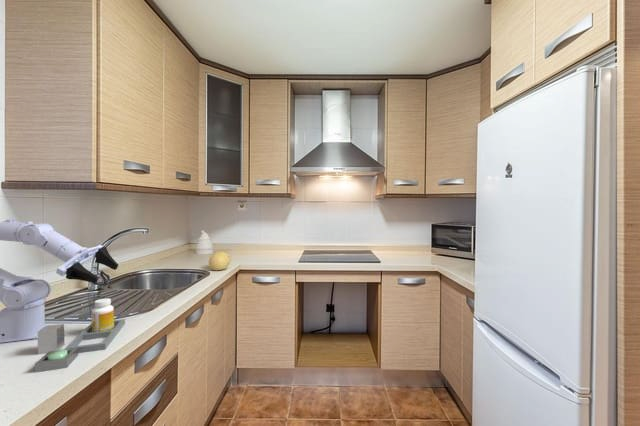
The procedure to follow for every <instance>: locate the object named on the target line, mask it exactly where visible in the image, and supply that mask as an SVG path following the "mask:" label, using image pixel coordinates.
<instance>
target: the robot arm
mask: <svg viewBox="0 0 640 426" xmlns="http://www.w3.org/2000/svg"><path fill="white" fill-rule="evenodd" d="M0 241H5V242H16V243H17V242H19V243H22V244H24V245H26V246H36V247H38V248H40V249H42V250H44V251H46V252H47V253H49V254H51V255H52V256H54V257H55V258H57V259H59V260H61V261H63V262H64V263H63V264H61V266H59V267H57V269H56V271H55V272H56V274H57V275H59V276H60V277H64V276H65V279H66V280H67V279H68V280H77V281H83V282H88V283H92V284H97V283H98V281H99V278H100V277H99V276H97V275H96V274H95V273H93V272H91V271H89V270H88V269H87V268H86V267H84V266H83V264H84V263H86V262H88V261H89V260H91V259H92V258H95V261H94V263H96V264H101V265H103V266H106V267H108V268H110V269H111V270H115V271H116V270H117V269H118V267H119V263H117V261H116V260H115V259H114V258H113V257H112V256H111V254H110V253H109V250H108V248H107V247H106V246H103V245H102V244H99V245H97V246H94V247H89V248H88V247H87V246H85V247H83V246H81V245H80V244H78V243H76V242H75V241H73V240H72V239H69V238H68V237H66V236H65V235H63V234H61V233H59V232H57V231H56V228H55V227H54V226H53V225H52V224H50V223H47V222H41V223H34V222H33V221H25V222H21V221H16V219H12V218H11V219H10V218H9V219H6V220H2V221H0ZM51 287H52V286H51V285H50V283H49V281H47V280H45V279H38V278H33V277H31V276H20V275H16V274H13V273H11V272H10V271H8V270H5V269H3V268H1V267H0V302H1V303H2V305H3V306H4V308H2V309H1V310H0V344H1V343H2V344H3V343H9V342H17V341H19V342H20V341H27V340H36V339H38V331H39V330H41V329H42V328H44V327H45V326H46V319H45V317H46V316H45V314H46V313H45V302H47V297H49V296H50V293H51V292H52V290H51V289H52V288H51Z"/></svg>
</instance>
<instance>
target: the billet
mask: <svg viewBox="0 0 640 426" xmlns="http://www.w3.org/2000/svg"><path fill="white" fill-rule="evenodd" d="M65 345H66V344H65V323H61V324H52V325H51V324H50V325H45V327H44V328H42V329H41V330H39V331H38V338H37V355H46V354H47V353H48V352H49V351H57V350H62V348H63V347H65Z"/></svg>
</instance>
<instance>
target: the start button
mask: <svg viewBox="0 0 640 426" xmlns="http://www.w3.org/2000/svg"><path fill="white" fill-rule="evenodd" d="M66 356H67V350H65V348H64V349H60V350H57V351H54V352H51V353H50V354H48V360H54V359H61V358H65V357H66Z"/></svg>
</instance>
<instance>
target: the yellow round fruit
mask: <svg viewBox="0 0 640 426" xmlns="http://www.w3.org/2000/svg"><path fill="white" fill-rule="evenodd" d="M231 261H232V256H231V254H228V253H226V252H225V251H217V252H213V253H212V255H211V256H210V257H209V260H208V266H209V268H210V270H213V271H221V270H222V271H223V270H227V269H228V267H229V265H230V264H231Z"/></svg>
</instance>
